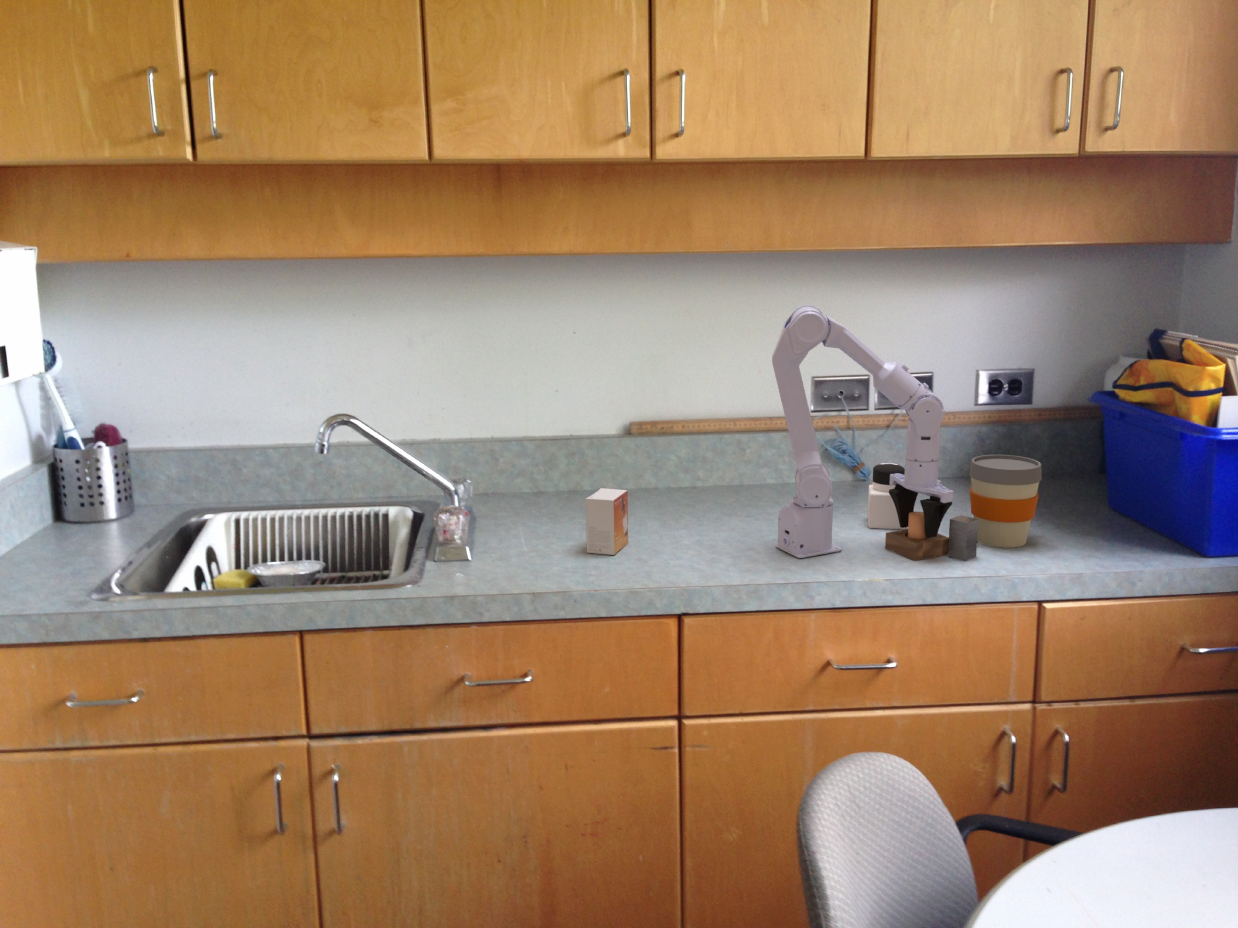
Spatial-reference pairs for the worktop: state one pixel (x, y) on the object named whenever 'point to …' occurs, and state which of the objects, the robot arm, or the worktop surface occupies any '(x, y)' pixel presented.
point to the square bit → (963, 537)
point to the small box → (607, 521)
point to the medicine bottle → (883, 498)
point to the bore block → (916, 545)
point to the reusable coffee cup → (1004, 498)
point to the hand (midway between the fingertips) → (918, 531)
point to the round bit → (916, 525)
